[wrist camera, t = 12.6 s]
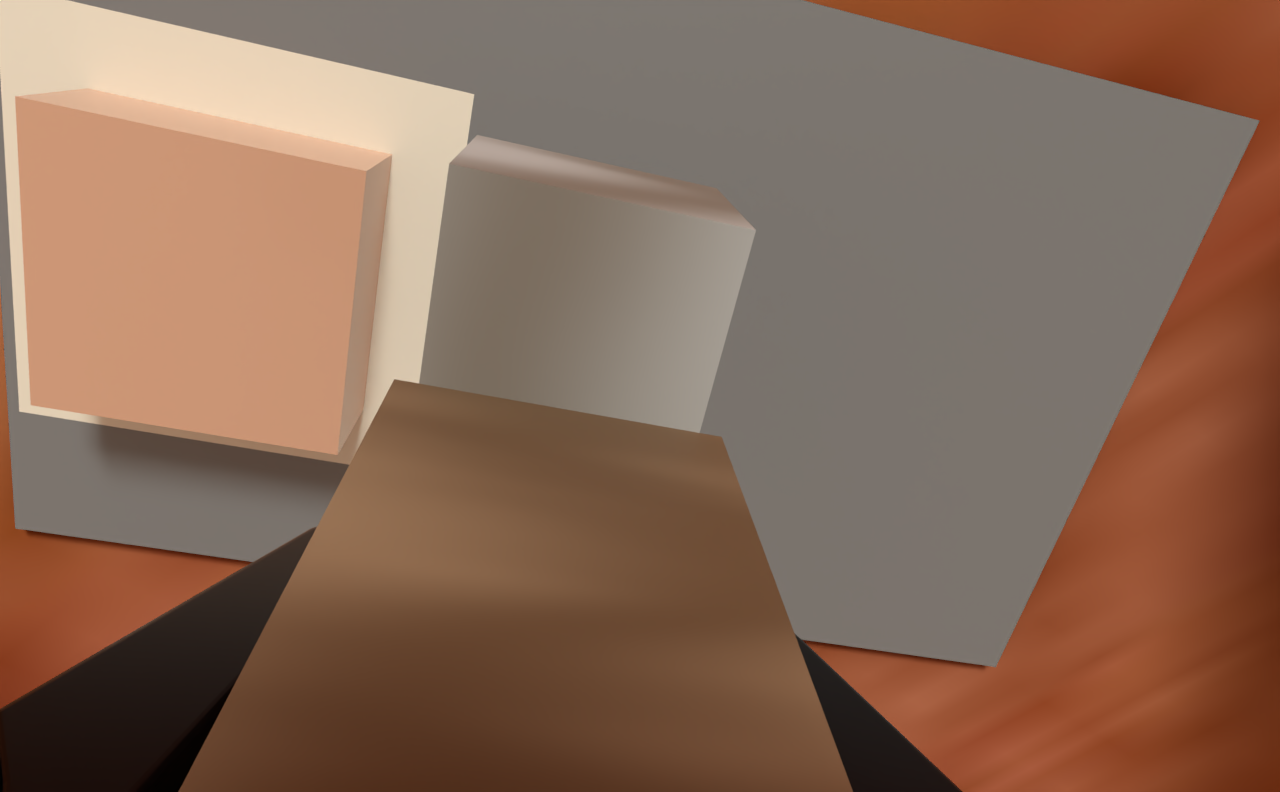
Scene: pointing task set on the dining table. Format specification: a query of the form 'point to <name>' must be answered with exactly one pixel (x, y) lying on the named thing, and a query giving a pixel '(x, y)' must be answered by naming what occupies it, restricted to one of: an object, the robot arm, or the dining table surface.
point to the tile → (197, 268)
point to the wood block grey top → (541, 528)
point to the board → (772, 282)
